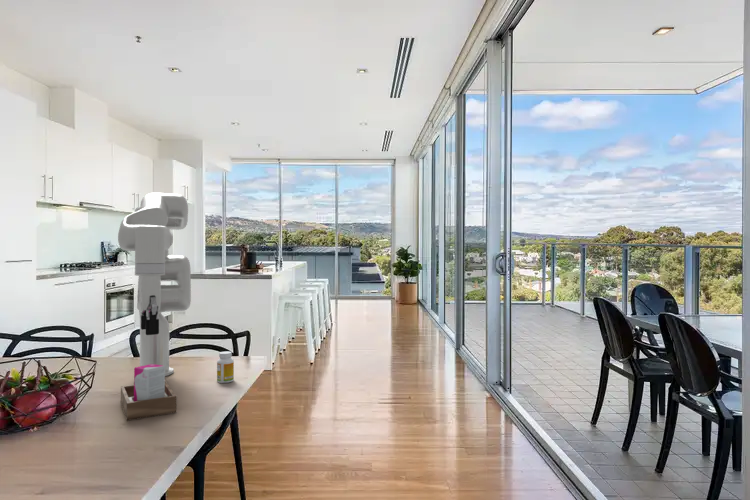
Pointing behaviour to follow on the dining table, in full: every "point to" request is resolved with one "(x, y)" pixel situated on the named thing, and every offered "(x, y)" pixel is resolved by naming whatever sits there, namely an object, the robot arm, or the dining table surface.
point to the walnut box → (147, 404)
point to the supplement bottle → (225, 367)
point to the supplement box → (149, 382)
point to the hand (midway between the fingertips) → (149, 331)
